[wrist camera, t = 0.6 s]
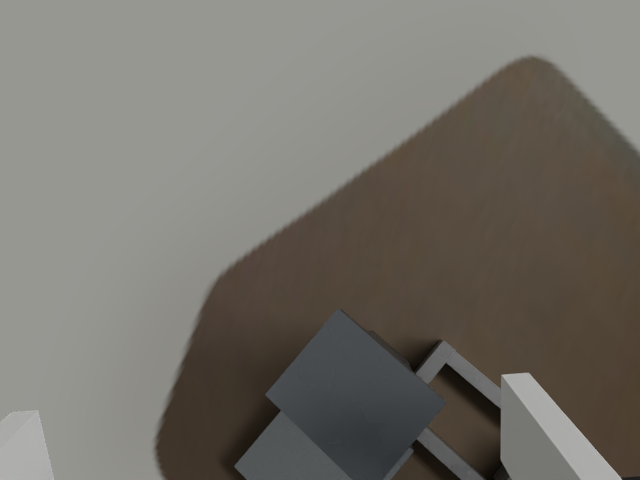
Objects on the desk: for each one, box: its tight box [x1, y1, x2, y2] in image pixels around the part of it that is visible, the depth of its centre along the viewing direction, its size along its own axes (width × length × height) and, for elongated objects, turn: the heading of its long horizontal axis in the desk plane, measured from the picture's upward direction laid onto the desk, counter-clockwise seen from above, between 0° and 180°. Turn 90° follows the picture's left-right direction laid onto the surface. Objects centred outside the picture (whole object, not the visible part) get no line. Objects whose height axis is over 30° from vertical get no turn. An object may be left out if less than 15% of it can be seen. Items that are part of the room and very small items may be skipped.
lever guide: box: [414, 340, 501, 480], centre depth 38 cm, size 17×7×3 cm, turn 49°
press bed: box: [234, 309, 446, 480], centre depth 31 cm, size 10×16×22 cm, turn 139°
